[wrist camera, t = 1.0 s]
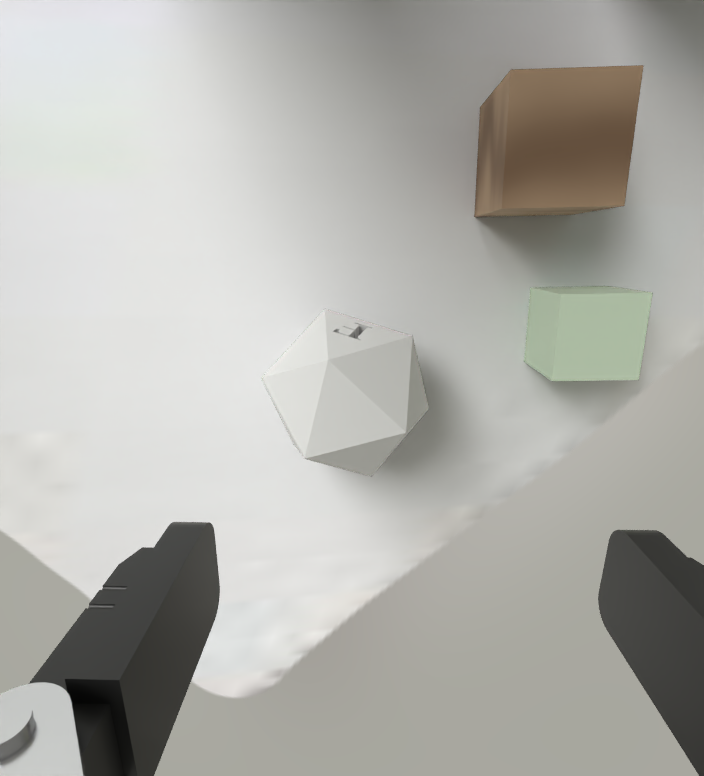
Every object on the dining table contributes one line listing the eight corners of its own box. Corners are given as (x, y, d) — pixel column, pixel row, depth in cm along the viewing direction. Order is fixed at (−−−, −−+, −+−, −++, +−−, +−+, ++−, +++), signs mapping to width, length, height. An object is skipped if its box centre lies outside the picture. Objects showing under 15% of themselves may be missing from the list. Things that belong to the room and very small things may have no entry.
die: (447, 379, 30) (448, 304, 21) (396, 506, 28) (373, 483, 19) (333, 341, 32) (291, 260, 23) (279, 456, 30) (210, 414, 21)
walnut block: (479, 107, 25) (510, 69, 20) (583, 104, 25) (643, 65, 19) (474, 217, 26) (501, 208, 21) (571, 214, 26) (624, 205, 21)
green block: (530, 287, 28) (561, 294, 23) (607, 286, 27) (652, 292, 23) (523, 361, 29) (551, 381, 24) (597, 360, 29) (638, 379, 24)
